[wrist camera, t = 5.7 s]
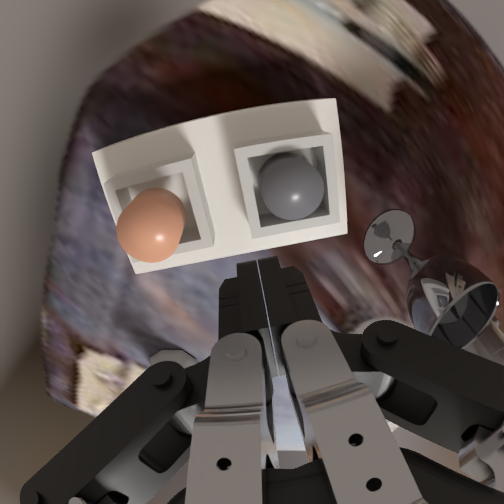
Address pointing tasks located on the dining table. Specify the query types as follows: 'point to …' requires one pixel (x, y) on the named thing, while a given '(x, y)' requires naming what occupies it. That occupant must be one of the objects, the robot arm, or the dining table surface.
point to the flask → (173, 357)
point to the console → (230, 177)
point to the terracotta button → (151, 225)
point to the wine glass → (434, 283)
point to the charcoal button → (290, 186)
